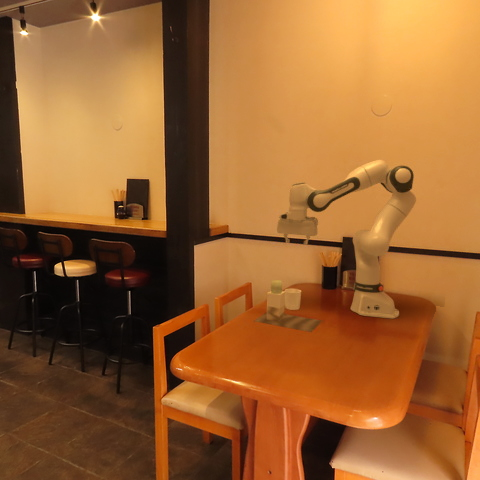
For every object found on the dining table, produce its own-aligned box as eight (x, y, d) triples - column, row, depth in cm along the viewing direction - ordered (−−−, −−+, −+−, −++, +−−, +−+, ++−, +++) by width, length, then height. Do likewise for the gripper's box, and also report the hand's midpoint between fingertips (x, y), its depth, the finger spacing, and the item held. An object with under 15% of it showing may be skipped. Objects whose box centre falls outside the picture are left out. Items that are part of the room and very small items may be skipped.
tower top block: (284, 304, 185) (285, 291, 184) (279, 308, 180) (280, 294, 179) (272, 302, 188) (272, 289, 187) (266, 306, 182) (267, 292, 182)
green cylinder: (283, 291, 184) (283, 280, 183) (279, 294, 180) (279, 283, 179) (273, 290, 186) (273, 279, 185) (269, 292, 182) (269, 281, 181)
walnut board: (322, 323, 183) (322, 320, 183) (311, 335, 169) (311, 332, 169) (267, 314, 195) (268, 311, 195) (253, 324, 181) (253, 321, 181)
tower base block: (284, 317, 186) (284, 304, 185) (279, 321, 181) (279, 308, 180) (271, 315, 189) (272, 302, 188) (266, 319, 183) (266, 306, 182)
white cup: (300, 308, 205) (300, 288, 203) (300, 313, 197) (301, 293, 195) (283, 307, 205) (284, 288, 204) (284, 312, 198) (284, 292, 196)
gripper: (320, 216, 204) (318, 244, 206) (281, 214, 213) (280, 241, 215) (316, 217, 198) (314, 246, 200) (276, 215, 207) (275, 242, 209)
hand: (296, 243), depth 208 cm, fingers open, 8 cm apart
